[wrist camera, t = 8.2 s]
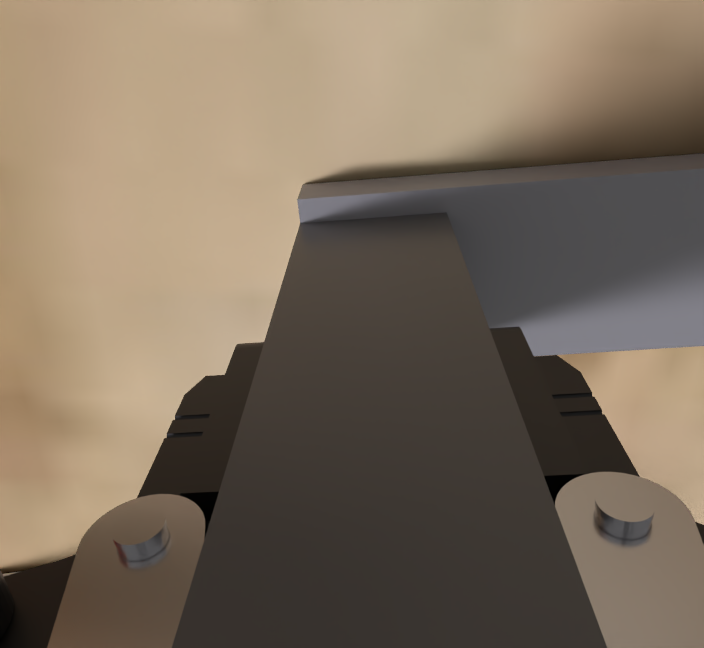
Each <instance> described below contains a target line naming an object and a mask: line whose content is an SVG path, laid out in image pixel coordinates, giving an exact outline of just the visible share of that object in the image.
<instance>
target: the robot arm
mask: <svg viewBox="0 0 704 648" xmlns="http://www.w3.org/2000/svg"><path fill="white" fill-rule="evenodd" d="M489 329H490V331H491V334H492V337H493V339H494V342H495V345H496V348H497V350H498V353H499V356H500V358H501V361H502V364H503V367H504V369H505V372H506V375H507V377H508V380H509V383H510V386H511V388H512V391H513V394H514V396H515V399H516V402H517V404H518V407H519V410H520V413H521V415H522V418H523V421H524V423H525V426H526V429H527V432H528V434H529V437H530V440H531V442H532V445H533V448H534V451H535V453H536V456H537V459H538V461H539V464H540V467H541V470H542V472H543V475H544V478H545V480H546V483H547V486H548V488H549V491H550V494H551V497H552V499H553V502H554V505H555V507H556V510H557V513H558V516H559V518H560V521H561V524H562V526H563V529H564V532H565V535H566V537H567V540H568V543H569V545H570V548H571V551H572V554H573V556H574V559H575V562H576V564H577V567H578V570H579V572H580V575H581V578H582V581H583V583H584V586H585V589H586V591H587V594H588V597H589V600H590V602H591V605H592V608H593V610H594V613H595V616H596V619H597V621H598V624H599V627H600V629H601V632H602V635H603V638H604V640H605V643H606V646H607V648H704V525H702V524H699V523H697V522H695V520H694V518H693V516H692V514H691V512H690V510H689V509H688V508H687V507H686V505H685V504H684V503H683V502H682V501H681V500H680V499H679V498H678V497H677V496H676V495H674V494H673V493H672V492H670V491H669V490H667V489H666V488H664V487H662V486H660V485H659V484H657V483H654V482H652V481H650V480H648V479H645V478H642V477H640V476H639V475H638V473H637V471H636V469H635V467H634V466H633V464H632V462H631V460H630V459H629V457H628V455H627V453H626V452H625V450H624V448H623V446H622V445H621V443H620V441H619V439H618V438H617V436H616V434H615V432H614V430H613V429H612V427H611V425H610V423H609V422H608V420H607V418H606V416H605V415H604V414H603V415H602V409H601V408H600V406H599V404H598V402H597V401H596V399H595V397H592V392H591V390H590V388H589V386H588V385H587V383H586V381H585V379H584V378H583V376H582V374H581V372H580V371H578V370H577V369H575V368H574V367H573V366H571V365H570V364H568V363H567V362H565V361H564V360H563V359H561V358H560V357H558V356H557V355H552V356H535V357H534V356H533V354H532V351H531V349H530V347H529V345H528V343H527V341H526V338H525V336H524V334H523V332H522V330H521V328H520V327H503V328H489ZM263 345H264V342H261V343H245V344H237V345H236V347H235V350H234V352H233V355H232V358H231V360H230V363H229V366H228V368H227V371H226V373H225V375H216V376H205V377H204V378H203V379H202V380H201V381H200V382H199V383H198V384H196V385H195V386H194V387H193V388H192V389H191V390H190V391H189V392H187V393H186V394H185V395H184V397H183V400H182V402H181V404H180V406H179V408H178V410H177V413H176V415H175V420H173V421H172V423H171V426H170V428H169V430H168V432H167V438H165V439H164V441H163V443H162V445H161V447H160V449H159V451H158V454H157V456H156V458H155V460H154V462H153V464H152V467H151V469H150V471H149V473H148V475H147V477H146V480H145V482H144V484H143V486H142V488H141V490H140V493H139V495H138V497H137V498H136V499H133V500H130V501H128V502H126V503H123V504H121V505H119V506H117V507H115V508H114V509H112V510H110V511H109V512H107V513H106V514H104V515H103V516H102V517H100V518H99V519H98V520H97V521H96V522H95V523H94V524H93V525H92V526H91V527H90V528H89V529H88V530H87V532H86V533H85V535H84V536H83V538H82V539H81V542H80V544H79V546H78V549H77V552H76V555H73V556H71V557H68V558H65V559H62V560H59V561H56V562H52V563H49V564H45V565H42V566H38V567H35V568H31V569H28V570H25V571H21V572H18V573H14V574H11V575H7V576H4V577H3V574H2V572H1V570H0V648H172V645H173V642H174V638H175V635H176V632H177V629H178V625H179V622H180V619H181V615H182V612H183V609H184V605H185V602H186V599H187V596H188V592H189V589H190V586H191V582H192V579H193V576H194V572H195V569H196V566H197V563H198V559H199V556H200V553H201V549H202V546H203V543H204V539H205V536H206V533H207V530H208V526H209V523H210V520H211V516H212V513H213V510H214V506H215V503H216V500H217V497H218V493H219V490H220V487H221V483H222V480H223V477H224V473H225V470H226V467H227V464H228V460H229V457H230V454H231V450H232V447H233V444H234V441H235V437H236V434H237V431H238V427H239V424H240V421H241V417H242V414H243V411H244V408H245V404H246V401H247V398H248V394H249V391H250V388H251V384H252V381H253V378H254V375H255V371H256V368H257V365H258V361H259V358H260V355H261V351H262V348H263Z"/></svg>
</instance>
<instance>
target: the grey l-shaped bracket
mask: <svg viewBox="0 0 704 648" xmlns="http://www.w3.org/2000/svg"><path fill="white" fill-rule="evenodd" d="M297 200H298V208H299V216H300V226H299V229H298V233H297V236H296V239H295V243H294V246H293V249H292V252H291V256H290V259H289V262H288V266H287V269H286V272H285V276H284V279H283V282H282V285H281V289H280V292H279V295H278V299H277V302H276V305H275V309H274V312H273V315H272V318H271V322H270V325H269V328H268V332H267V335H266V338H265V342H264V345H263V348H262V351H261V355H260V358H259V361H258V365H257V368H256V371H255V375H254V378H253V381H252V384H251V388H250V391H249V394H248V398H247V401H246V404H245V408H244V411H243V414H242V417H241V421H240V424H239V427H238V431H237V434H236V437H235V441H234V444H233V447H232V450H231V454H230V457H229V460H228V464H227V467H226V470H225V473H224V477H223V480H222V483H221V487H220V490H219V493H218V497H217V500H216V503H215V506H214V510H213V513H212V516H211V520H210V523H209V526H208V530H207V533H206V536H205V539H204V543H203V546H202V549H201V553H200V556H199V559H198V563H197V566H196V569H195V572H194V576H193V579H192V582H191V586H190V589H189V592H188V596H187V599H186V602H185V605H184V609H183V612H182V615H181V619H180V622H179V625H178V629H177V632H176V635H175V638H174V642H173V645H172V648H607V646H606V643H605V640H604V638H603V635H602V632H601V629H600V627H599V624H598V621H597V619H596V616H595V613H594V610H593V608H592V605H591V602H590V600H589V597H588V594H587V591H586V589H585V586H584V583H583V581H582V578H581V575H580V572H579V570H578V567H577V564H576V562H575V559H574V556H573V554H572V551H571V548H570V545H569V543H568V540H567V537H566V535H565V532H564V529H563V526H562V524H561V521H560V518H559V516H558V513H557V510H556V507H555V505H554V502H553V499H552V497H551V494H550V491H549V488H548V486H547V483H546V480H545V478H544V475H543V472H542V470H541V467H540V464H539V461H538V459H537V456H536V453H535V451H534V448H533V445H532V442H531V440H530V437H529V434H528V432H527V429H526V426H525V423H524V421H523V418H522V415H521V413H520V410H519V407H518V404H517V402H516V399H515V396H514V394H513V391H512V388H511V386H510V383H509V380H508V377H507V375H506V372H505V369H504V367H503V364H502V361H501V358H500V356H499V353H498V350H497V348H496V345H495V342H494V339H493V337H492V334H491V331H490V329H489V328H503V327H520V328H521V330H522V332H523V334H524V336H525V338H526V341H527V343H528V345H529V347H530V349H531V351H532V354H533V356H544V355H561V354H577V353H594V352H610V351H627V350H643V349H659V348H676V347H692V346H704V153H702V154H689V155H676V156H663V157H650V158H637V159H624V160H611V161H598V162H585V163H572V164H559V165H546V166H533V167H521V168H508V169H495V170H482V171H469V172H456V173H443V174H430V175H417V176H404V177H391V178H378V179H365V180H352V181H340V182H327V183H314V184H303V185H302V188H301V191H300V194H299V196H298V199H297Z"/></svg>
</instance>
